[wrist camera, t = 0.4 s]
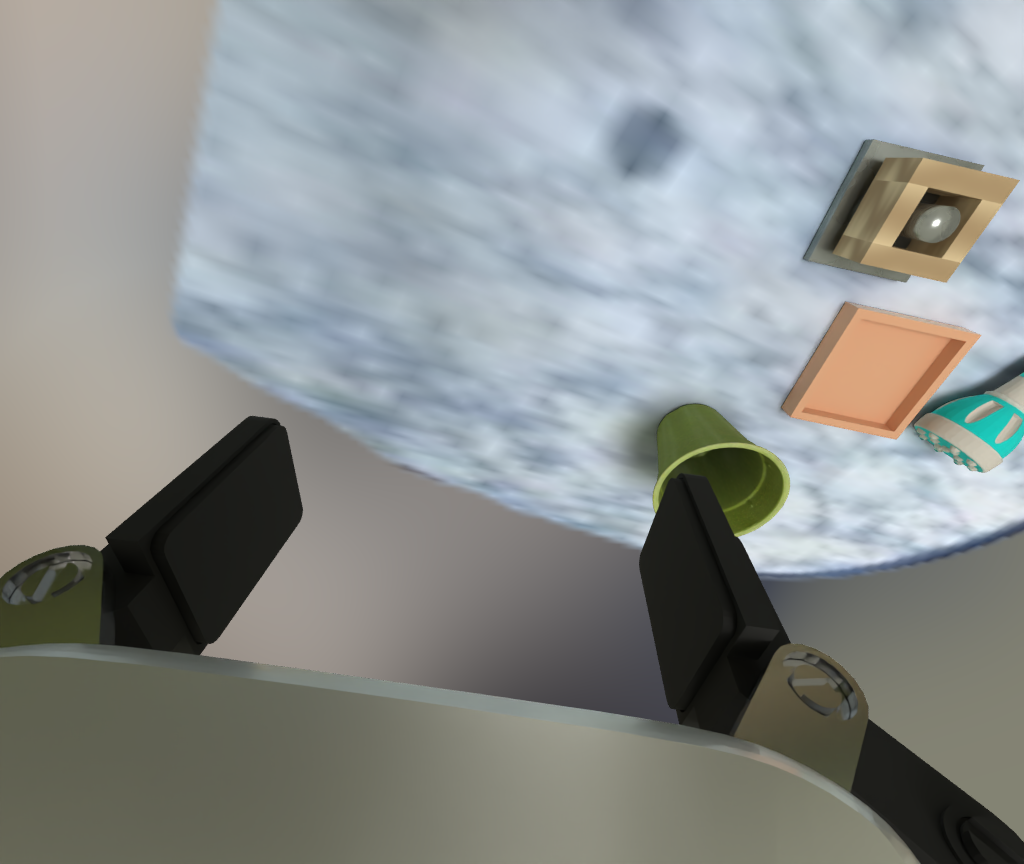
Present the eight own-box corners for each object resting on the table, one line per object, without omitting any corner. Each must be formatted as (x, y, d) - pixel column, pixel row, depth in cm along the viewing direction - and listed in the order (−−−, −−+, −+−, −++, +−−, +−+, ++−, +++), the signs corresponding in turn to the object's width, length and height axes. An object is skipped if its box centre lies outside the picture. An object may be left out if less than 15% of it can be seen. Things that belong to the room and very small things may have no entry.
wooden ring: (885, 157, 33) (923, 157, 30) (972, 177, 33) (1019, 180, 30) (832, 253, 37) (860, 263, 34) (910, 271, 37) (946, 282, 34)
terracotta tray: (845, 301, 41) (858, 308, 39) (963, 327, 41) (981, 335, 39) (781, 407, 47) (790, 417, 45) (883, 429, 47) (896, 439, 46)
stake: (865, 139, 34) (924, 136, 29) (973, 165, 35) (1052, 166, 29) (803, 258, 39) (843, 275, 34) (898, 279, 39) (953, 299, 34)
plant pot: (626, 399, 48) (644, 459, 39) (741, 372, 45) (790, 429, 36) (643, 481, 54) (662, 550, 44) (746, 461, 51) (790, 531, 42)
